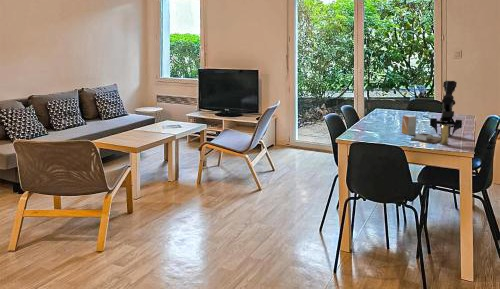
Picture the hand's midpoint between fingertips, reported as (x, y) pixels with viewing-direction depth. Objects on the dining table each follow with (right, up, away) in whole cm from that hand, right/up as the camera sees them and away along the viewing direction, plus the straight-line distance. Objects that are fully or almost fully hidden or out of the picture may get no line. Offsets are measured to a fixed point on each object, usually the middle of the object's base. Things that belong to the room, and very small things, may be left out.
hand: (444, 133), depth 284 cm
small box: (-10, +1, +37) cm, 38 cm away
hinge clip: (-8, -3, +13) cm, 16 cm away
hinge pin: (+1, -7, +3) cm, 7 cm away
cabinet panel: (-4, -4, +15) cm, 16 cm away
